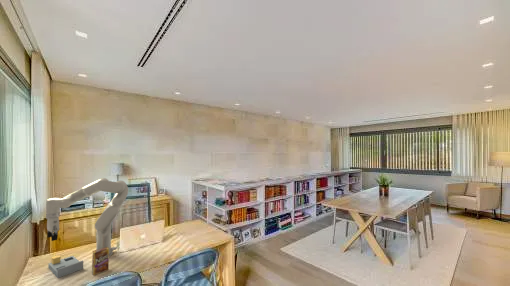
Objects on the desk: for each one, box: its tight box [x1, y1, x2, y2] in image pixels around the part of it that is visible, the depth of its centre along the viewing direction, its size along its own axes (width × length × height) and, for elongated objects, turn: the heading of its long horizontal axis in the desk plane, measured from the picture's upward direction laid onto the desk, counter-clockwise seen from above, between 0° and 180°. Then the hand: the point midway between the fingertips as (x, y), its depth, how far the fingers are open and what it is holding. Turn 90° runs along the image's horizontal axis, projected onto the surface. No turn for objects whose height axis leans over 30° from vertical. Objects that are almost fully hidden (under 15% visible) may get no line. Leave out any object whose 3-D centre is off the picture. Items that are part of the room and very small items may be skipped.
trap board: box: [47, 255, 84, 279], centre depth 158 cm, size 14×21×6 cm, turn 55°
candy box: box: [91, 247, 110, 276], centre depth 154 cm, size 9×4×15 cm, turn 140°
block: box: [50, 254, 62, 264], centre depth 160 cm, size 4×4×4 cm
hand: (52, 238), depth 163 cm, fingers open, 9 cm apart
